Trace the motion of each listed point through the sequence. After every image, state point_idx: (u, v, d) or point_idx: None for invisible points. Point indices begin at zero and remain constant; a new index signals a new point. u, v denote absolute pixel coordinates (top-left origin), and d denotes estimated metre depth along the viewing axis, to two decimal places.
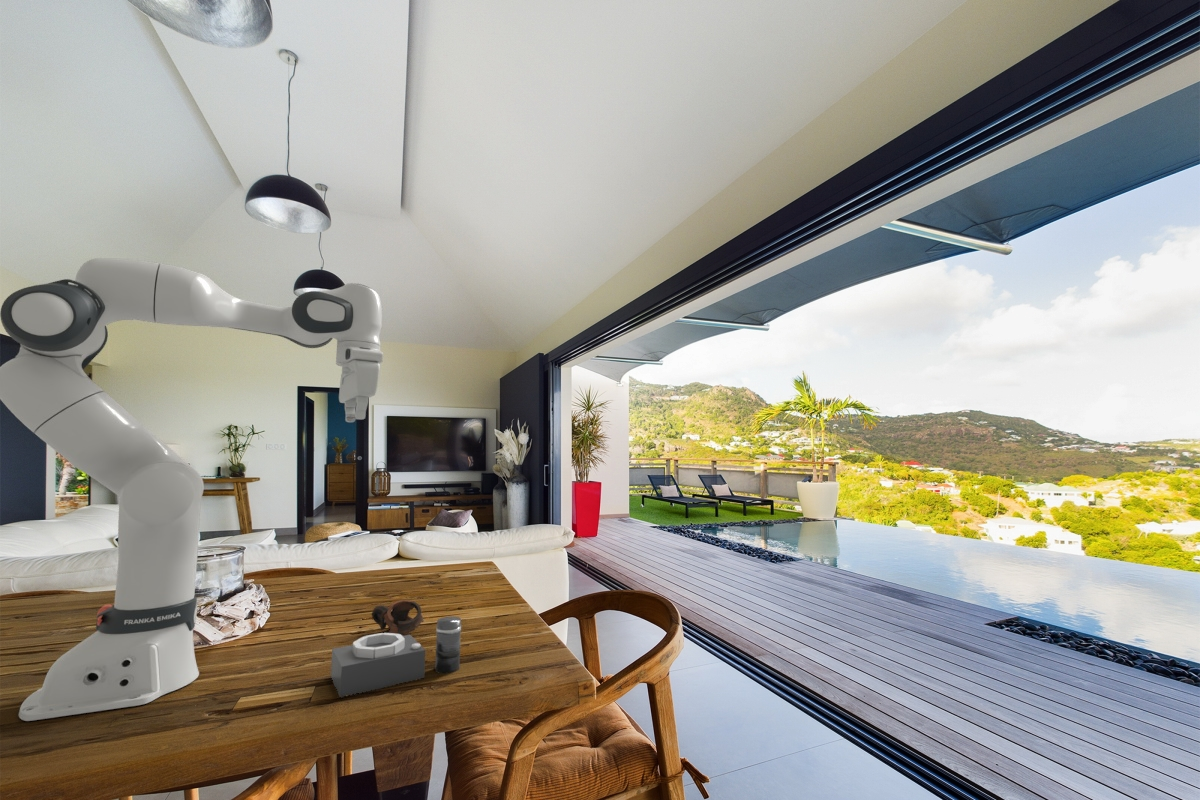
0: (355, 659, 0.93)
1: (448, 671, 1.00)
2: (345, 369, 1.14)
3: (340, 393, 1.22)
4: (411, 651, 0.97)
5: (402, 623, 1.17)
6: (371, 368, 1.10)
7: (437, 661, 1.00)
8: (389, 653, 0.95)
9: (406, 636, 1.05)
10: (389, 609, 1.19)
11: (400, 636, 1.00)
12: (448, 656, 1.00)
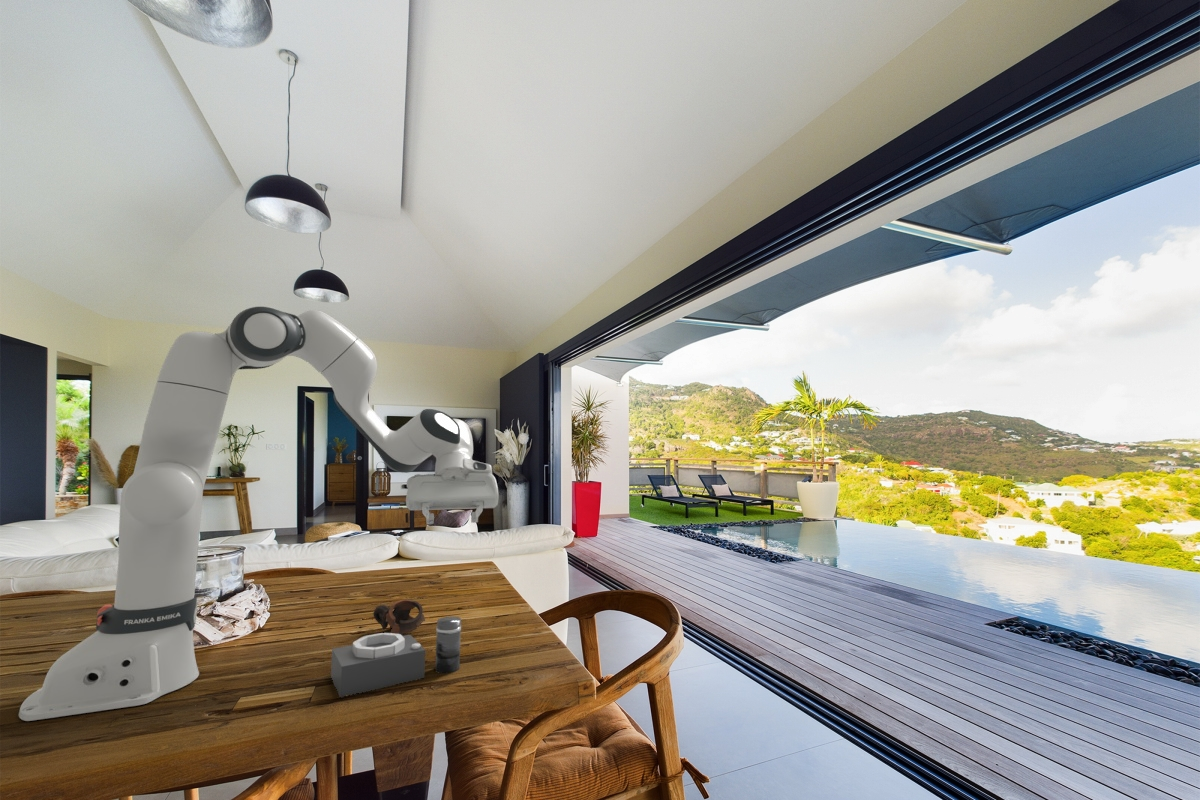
0: (355, 659, 0.93)
1: (448, 671, 1.00)
2: (460, 476, 1.23)
3: (416, 493, 1.18)
4: (411, 651, 0.97)
5: (404, 622, 1.17)
6: None
7: (437, 661, 1.00)
8: (389, 653, 0.95)
9: (406, 636, 1.05)
10: (391, 608, 1.20)
11: (400, 636, 1.00)
12: (448, 656, 1.00)
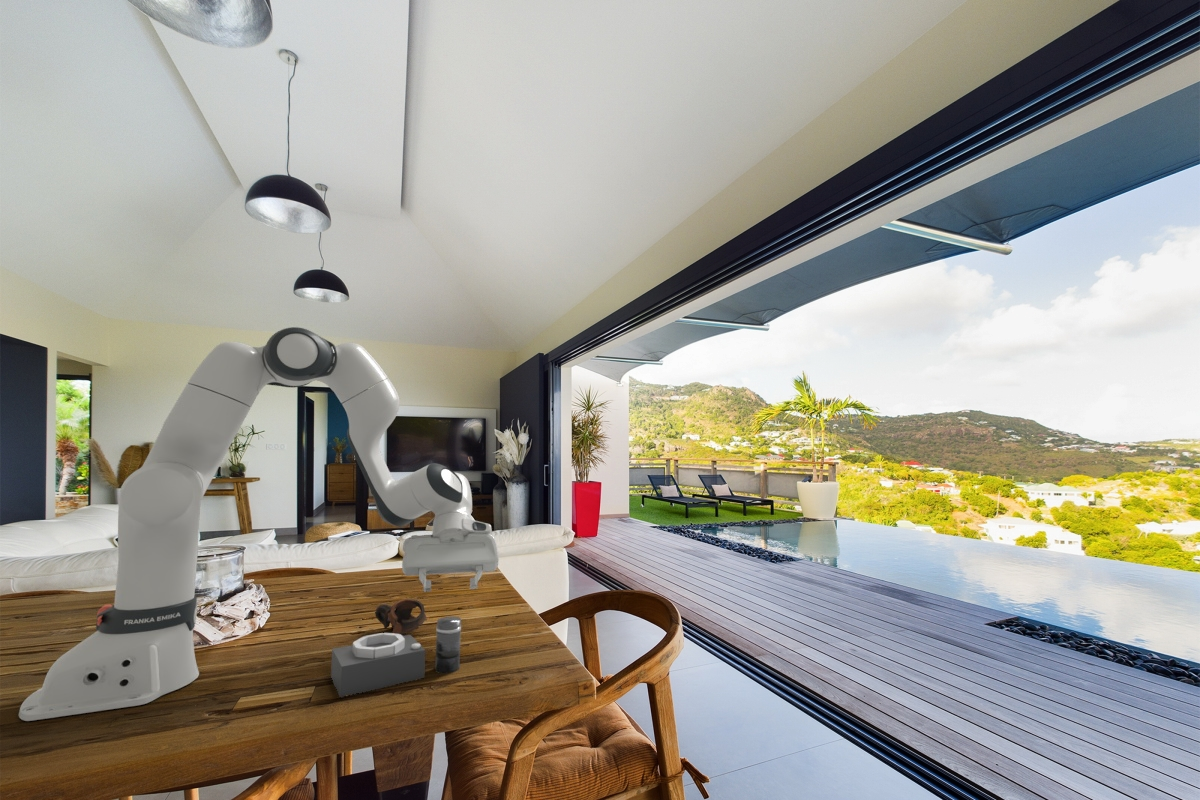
0: (355, 659, 0.93)
1: (448, 671, 1.00)
2: (459, 537, 1.18)
3: (413, 558, 1.14)
4: (411, 651, 0.97)
5: (406, 621, 1.18)
6: None
7: (437, 661, 1.00)
8: (389, 653, 0.95)
9: (406, 636, 1.05)
10: (393, 608, 1.20)
11: (400, 636, 1.00)
12: (448, 656, 1.00)
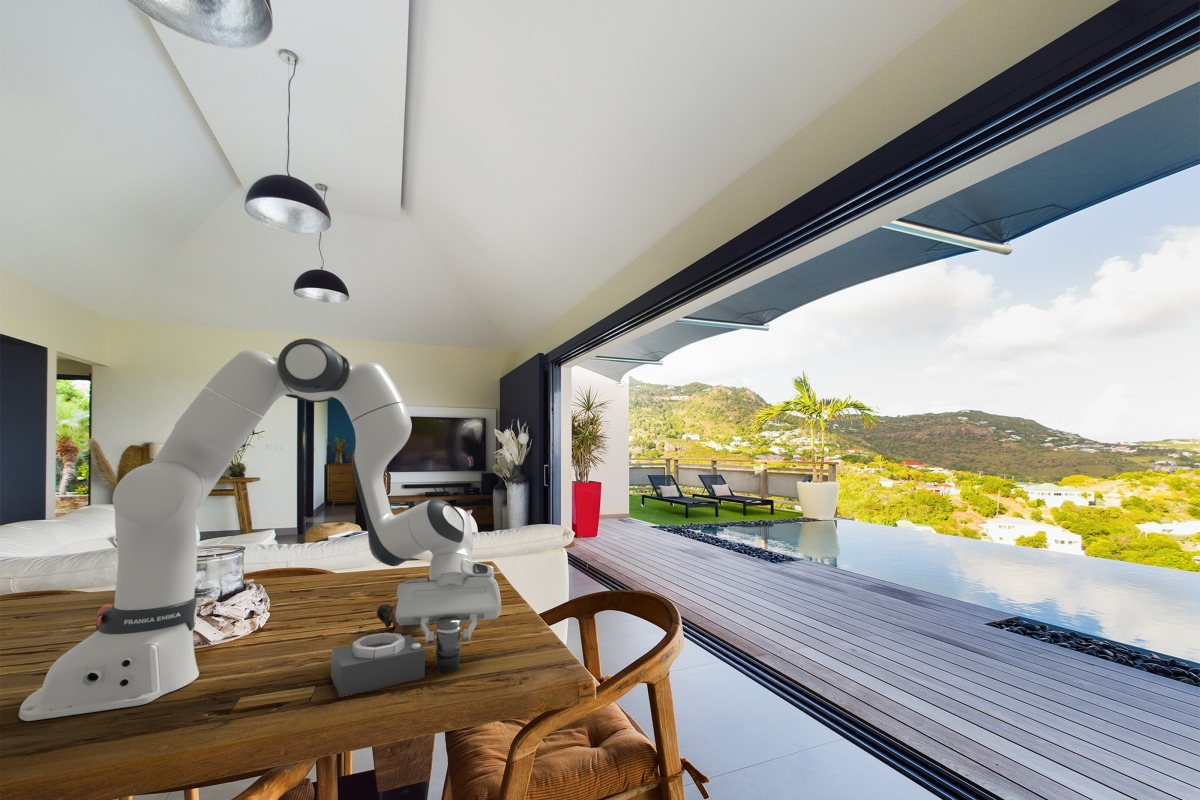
0: (355, 659, 0.93)
1: (448, 671, 1.00)
2: (458, 582, 1.09)
3: (407, 606, 1.04)
4: (411, 651, 0.97)
5: None
6: None
7: (437, 661, 1.00)
8: (389, 653, 0.95)
9: (406, 636, 1.05)
10: (394, 607, 1.21)
11: (400, 636, 1.00)
12: (448, 656, 1.00)
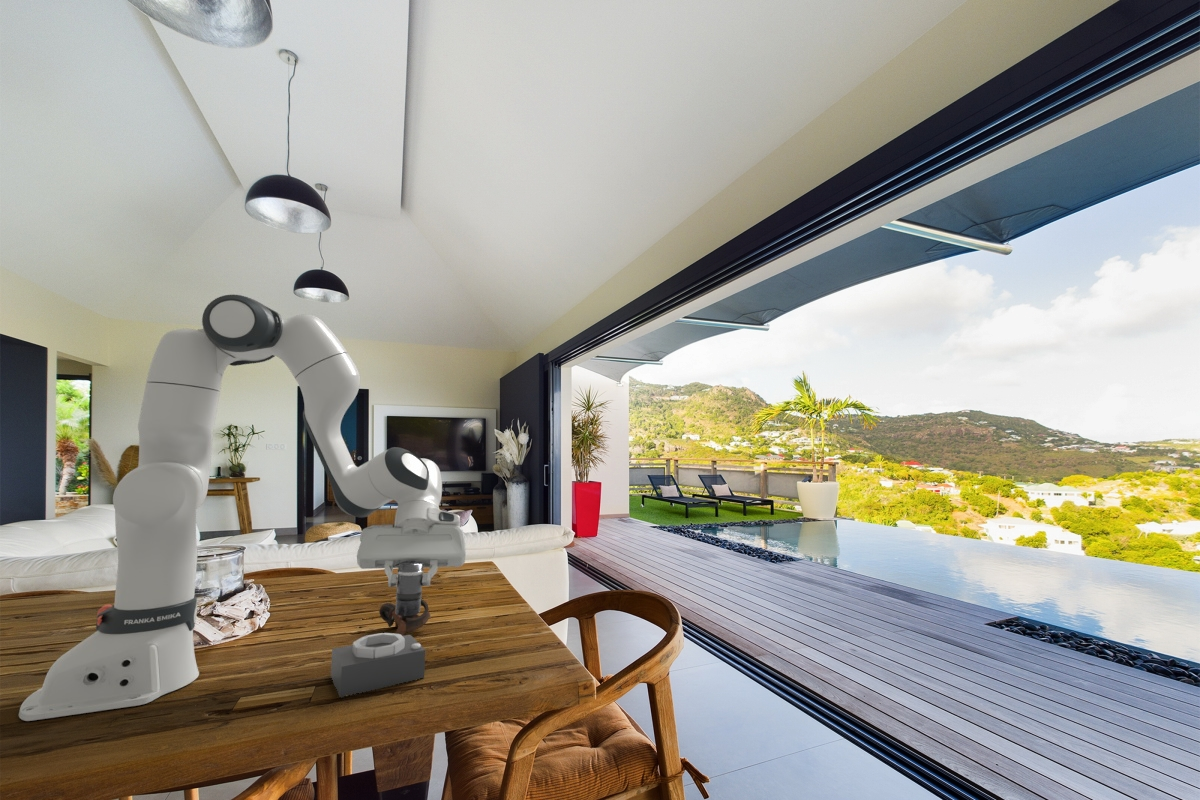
0: (355, 659, 0.93)
1: (408, 614, 0.98)
2: (422, 528, 1.07)
3: (369, 549, 1.02)
4: (411, 651, 0.97)
5: (410, 620, 1.19)
6: None
7: (397, 603, 0.99)
8: (389, 653, 0.95)
9: (406, 636, 1.05)
10: None
11: (400, 636, 1.00)
12: (408, 598, 0.98)
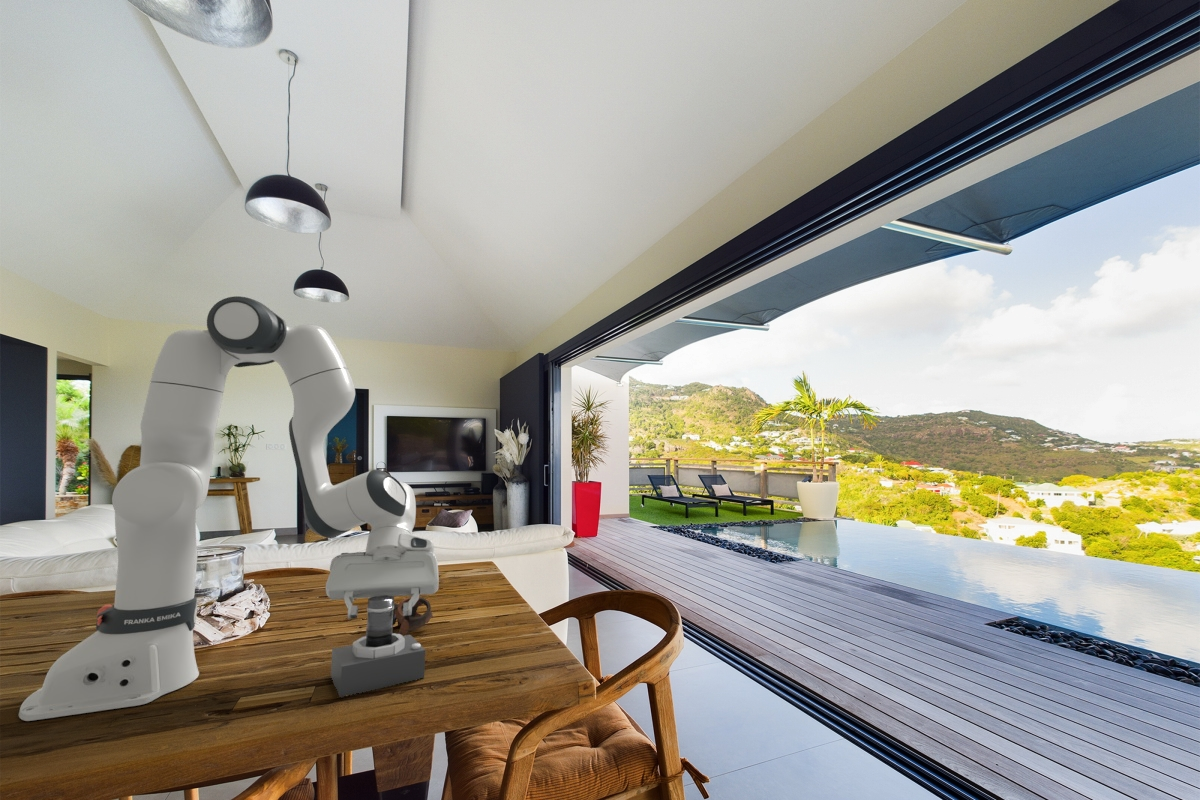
0: (355, 659, 0.93)
1: None
2: (394, 556, 1.05)
3: (339, 579, 1.00)
4: (411, 651, 0.97)
5: (413, 619, 1.20)
6: None
7: (367, 641, 0.97)
8: (389, 653, 0.95)
9: (406, 636, 1.05)
10: (400, 605, 1.22)
11: (400, 636, 1.00)
12: (378, 636, 0.96)
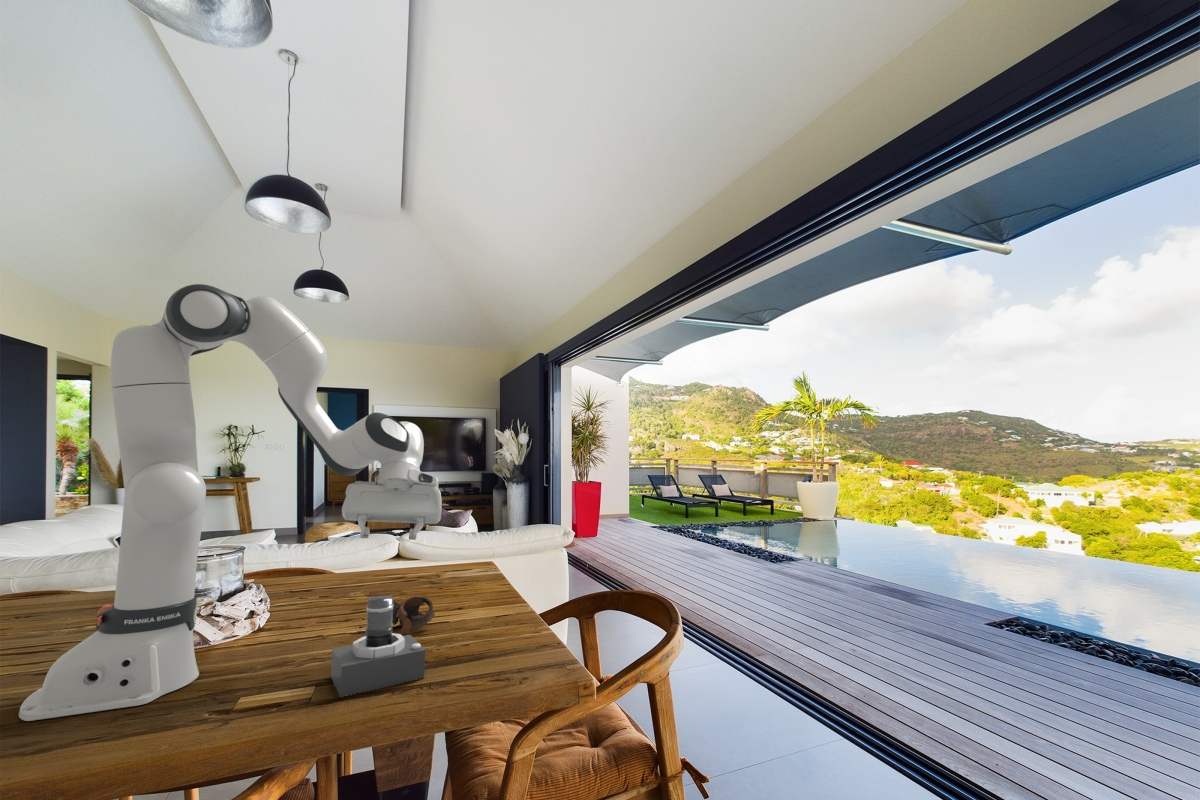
0: (355, 659, 0.93)
1: None
2: (403, 487, 1.17)
3: (353, 503, 1.13)
4: (411, 651, 0.97)
5: (415, 618, 1.21)
6: None
7: (367, 641, 0.97)
8: (389, 653, 0.95)
9: (406, 636, 1.05)
10: (402, 604, 1.23)
11: (400, 636, 1.00)
12: (378, 635, 0.96)
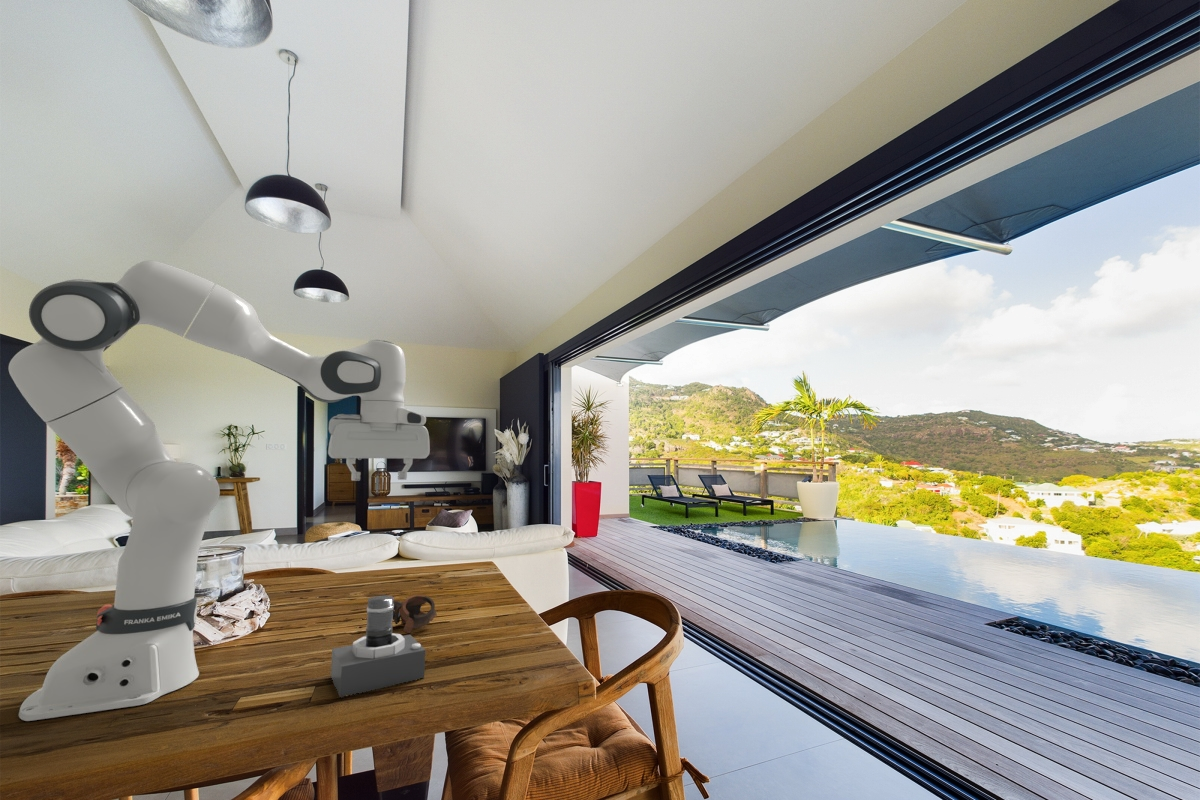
0: (355, 659, 0.93)
1: None
2: (392, 429, 1.14)
3: (342, 448, 1.09)
4: (411, 651, 0.97)
5: (418, 617, 1.22)
6: None
7: (367, 641, 0.97)
8: (389, 653, 0.95)
9: (406, 636, 1.05)
10: (404, 604, 1.24)
11: (400, 636, 1.00)
12: (378, 636, 0.96)
